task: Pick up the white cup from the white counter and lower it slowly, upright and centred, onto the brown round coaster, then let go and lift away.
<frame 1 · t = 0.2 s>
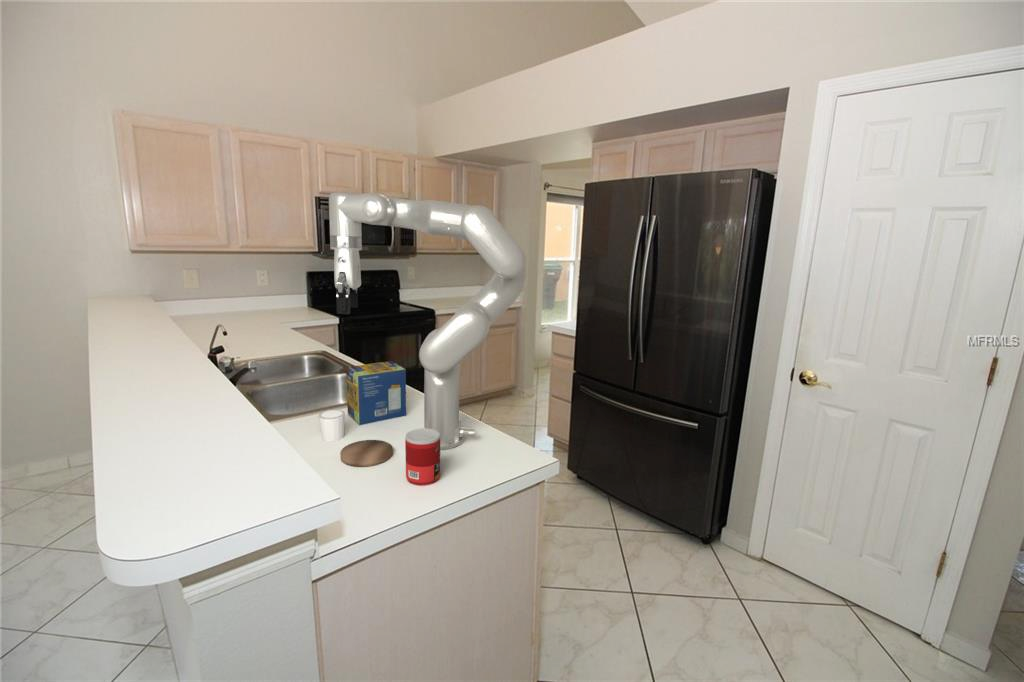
hand: (347, 310, 124), 36 cm above the table, tool pointing down, fingers open, 9 cm apart
protein box: (377, 415, 149), on the table
brown round coaster: (367, 454, 123), on the table
white cup: (333, 438, 132), on the table
canned food: (423, 478, 113), on the table
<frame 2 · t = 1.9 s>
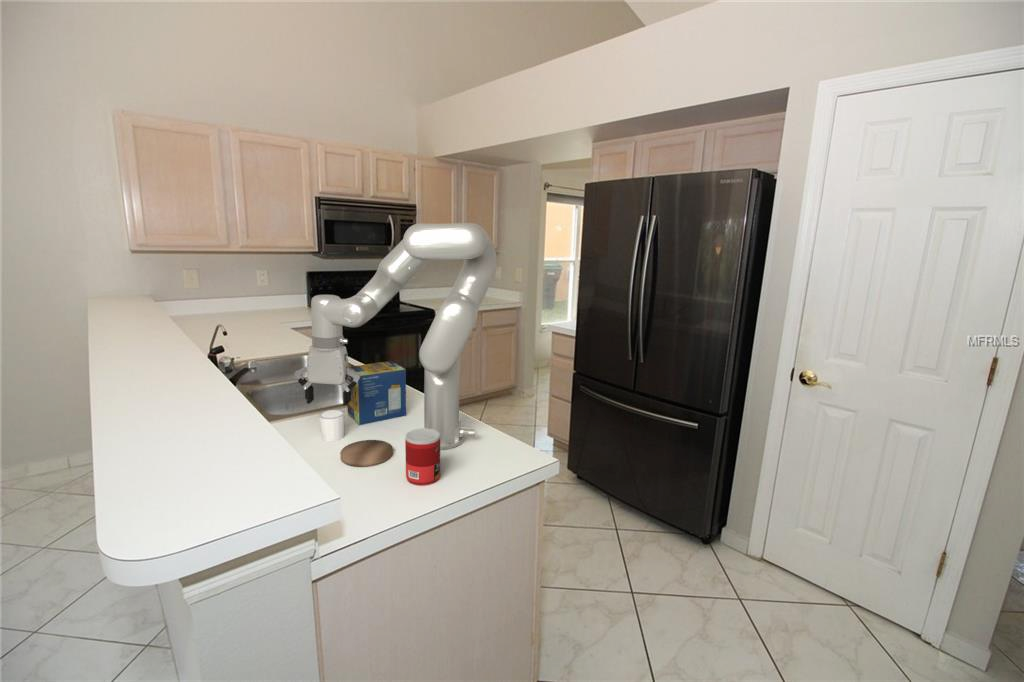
hand: (328, 402, 130), 10 cm above the table, tool pointing down, fingers open, 9 cm apart
nothing on the table moved.
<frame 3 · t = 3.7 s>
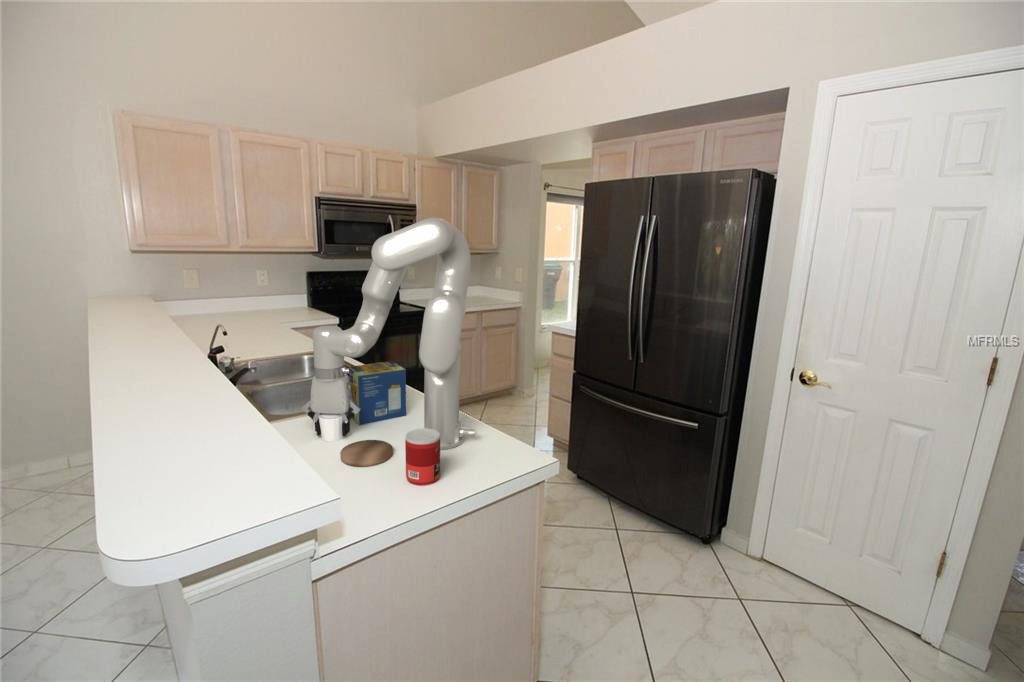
hand: (332, 433, 132), 1 cm above the table, tool pointing down, fingers closed on white cup, 6 cm apart
white cup: (333, 438, 132), on the table, touching gripper
everything else where it was.
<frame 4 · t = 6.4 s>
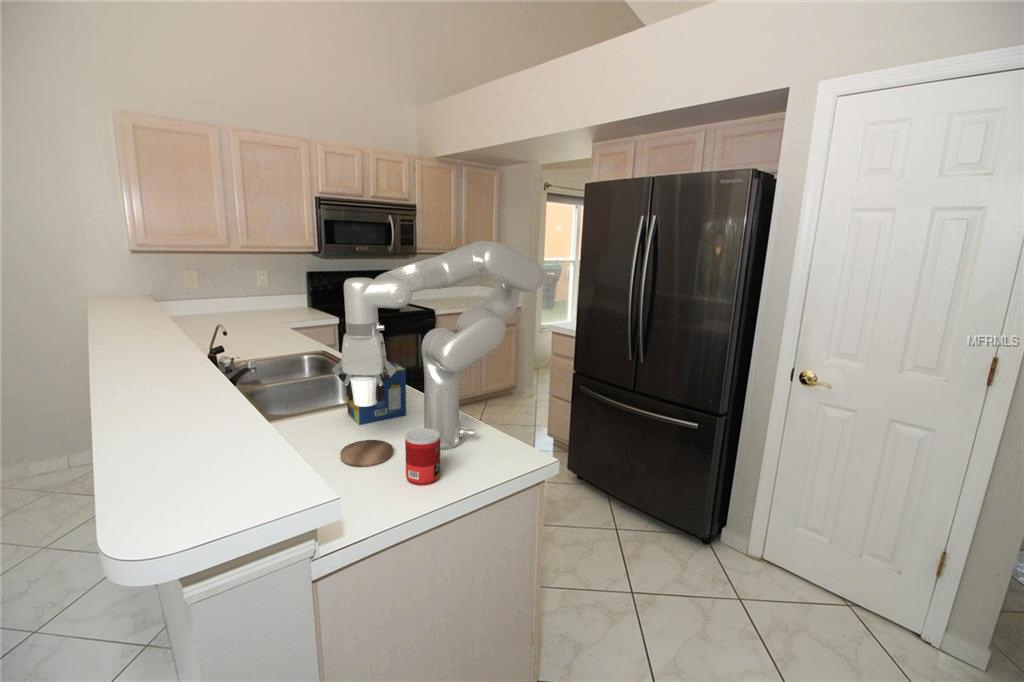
hand: (365, 398, 120), 15 cm above the table, tool pointing down, fingers closed on white cup, 6 cm apart
white cup: (365, 403, 120), point 14 cm above the table, touching gripper
everything else where it was.
when the fingers open (4 cm above the table, at t = 9.6 s): white cup drops 1 cm, resting on brown round coaster.
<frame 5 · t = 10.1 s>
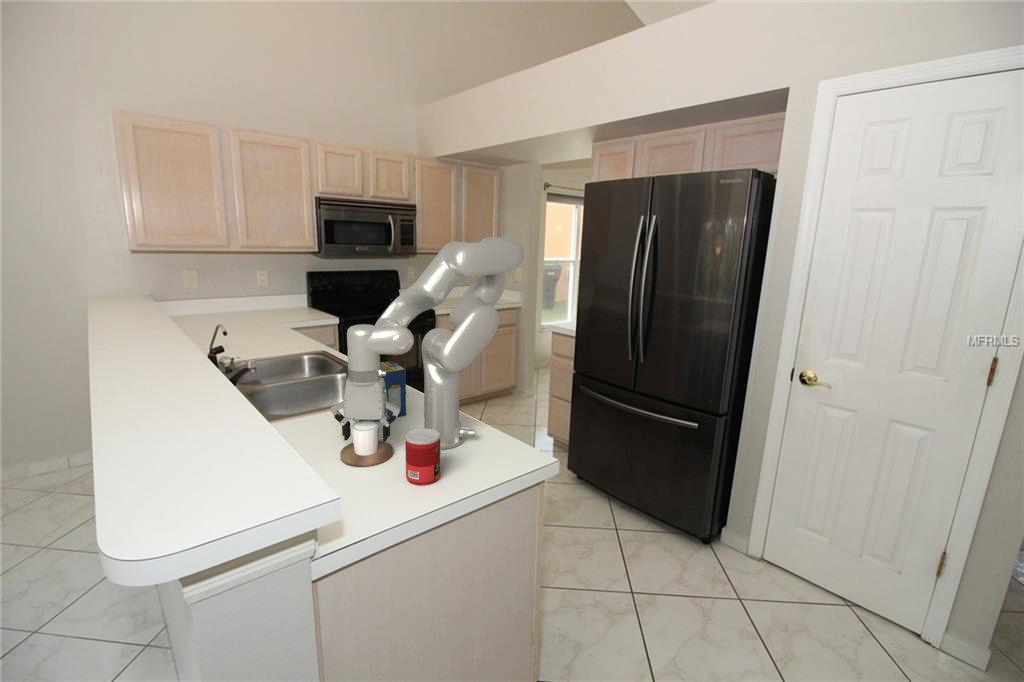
hand: (366, 438, 122), 5 cm above the table, tool pointing down, fingers open, 9 cm apart
white cup: (366, 451, 123), point 1 cm above the table, touching brown round coaster
everything else where it was.
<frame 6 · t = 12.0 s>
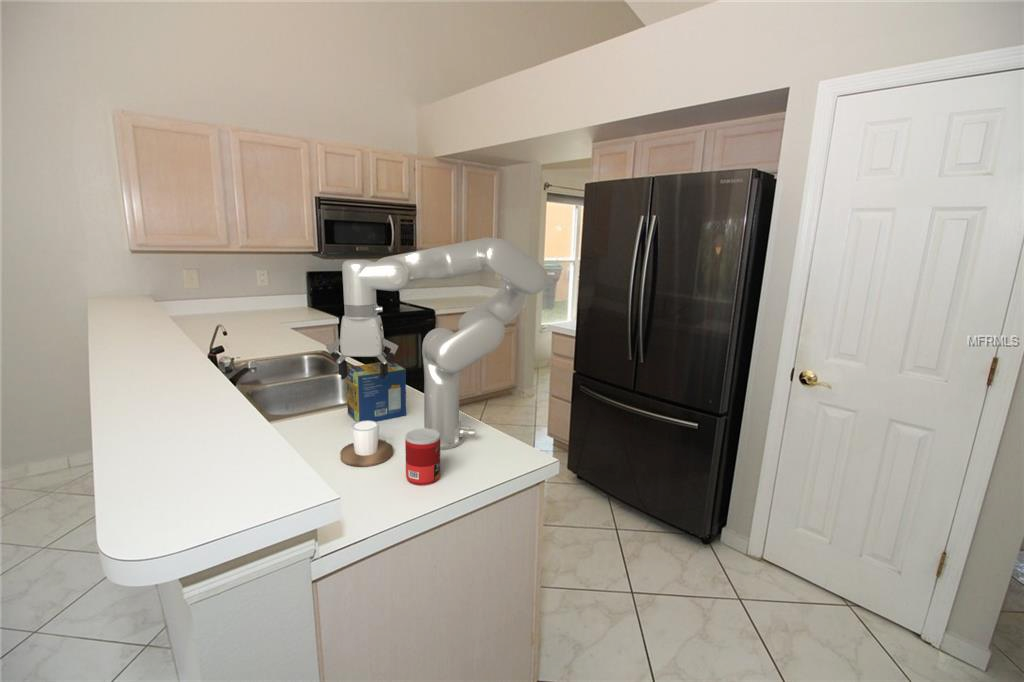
hand: (363, 377, 121), 20 cm above the table, tool pointing down, fingers open, 9 cm apart
nothing on the table moved.
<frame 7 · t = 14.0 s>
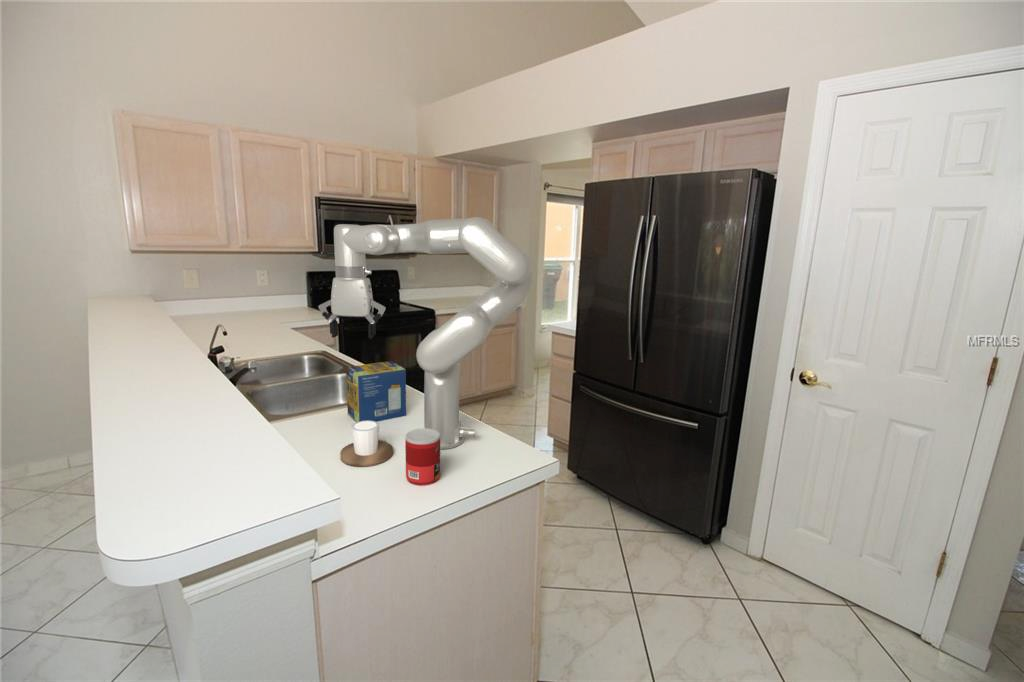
hand: (353, 337, 128), 28 cm above the table, tool pointing down, fingers open, 9 cm apart
nothing on the table moved.
at the end: white cup 0.2 cm from the brown round coaster (horizontally); white cup tilted 0°; white cup touching brown round coaster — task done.
